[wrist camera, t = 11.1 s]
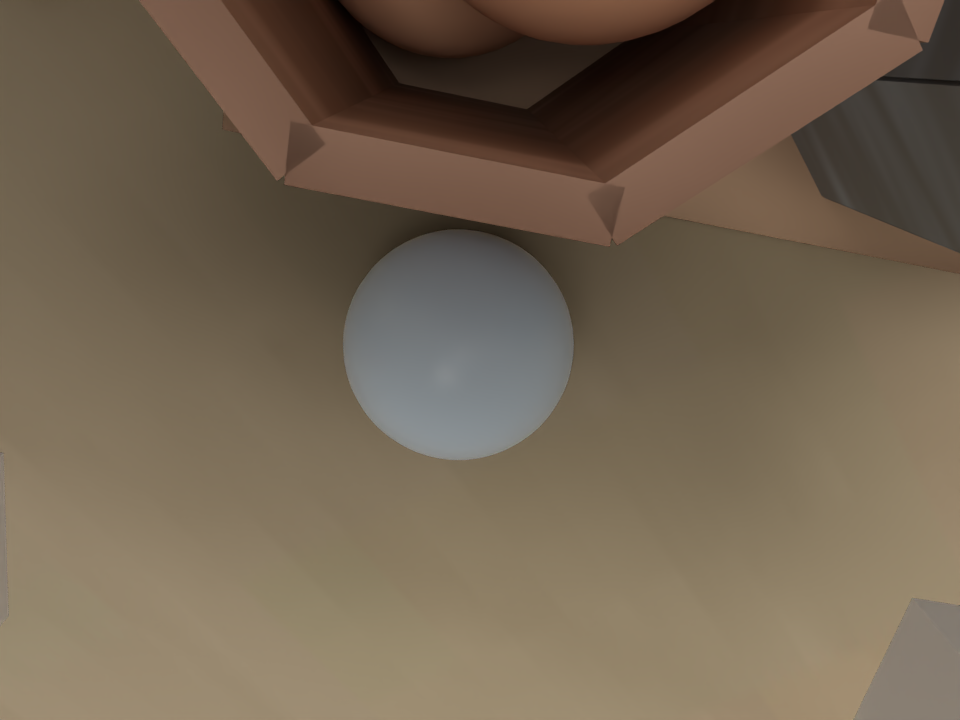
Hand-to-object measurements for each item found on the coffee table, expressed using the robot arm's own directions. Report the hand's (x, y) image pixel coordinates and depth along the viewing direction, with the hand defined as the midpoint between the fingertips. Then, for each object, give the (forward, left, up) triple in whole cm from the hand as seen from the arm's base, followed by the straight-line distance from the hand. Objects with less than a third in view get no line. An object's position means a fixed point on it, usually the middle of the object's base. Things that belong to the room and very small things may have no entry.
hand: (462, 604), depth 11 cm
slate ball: (0, 0, -13) cm, 13 cm away
